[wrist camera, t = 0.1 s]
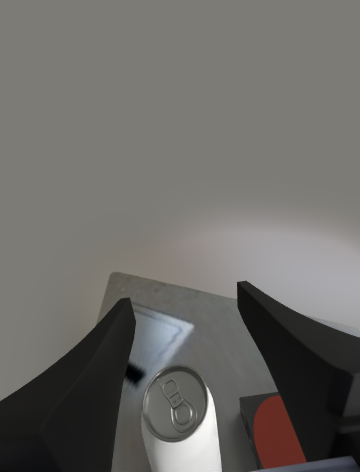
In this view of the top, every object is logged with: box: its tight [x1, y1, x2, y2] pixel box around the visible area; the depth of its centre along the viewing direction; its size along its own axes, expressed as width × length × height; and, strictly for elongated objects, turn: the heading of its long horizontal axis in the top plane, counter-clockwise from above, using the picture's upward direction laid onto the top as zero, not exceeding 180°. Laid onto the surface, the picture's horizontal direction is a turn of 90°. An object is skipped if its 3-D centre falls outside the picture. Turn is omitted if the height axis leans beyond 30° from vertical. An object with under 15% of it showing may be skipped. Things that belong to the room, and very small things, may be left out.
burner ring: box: [253, 395, 307, 469], centre depth 18 cm, size 9×9×1 cm
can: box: [141, 365, 222, 472], centre depth 17 cm, size 6×6×12 cm
